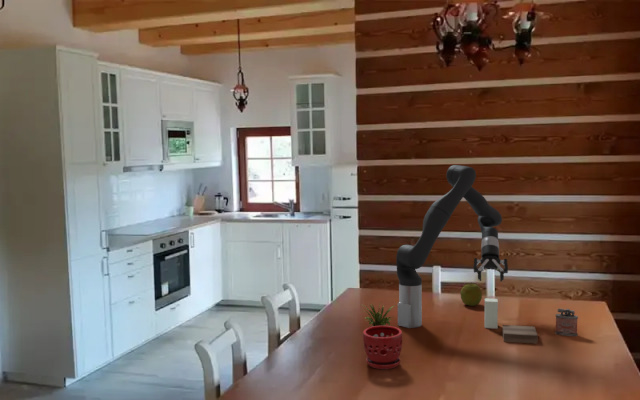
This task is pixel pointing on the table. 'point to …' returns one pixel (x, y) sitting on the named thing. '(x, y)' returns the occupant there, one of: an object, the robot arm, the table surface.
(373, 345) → the plant pot
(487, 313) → the sage pillar
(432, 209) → the robot arm
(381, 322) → the house plant
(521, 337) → the walnut base
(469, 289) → the apple
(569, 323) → the lighter
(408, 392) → the table surface
